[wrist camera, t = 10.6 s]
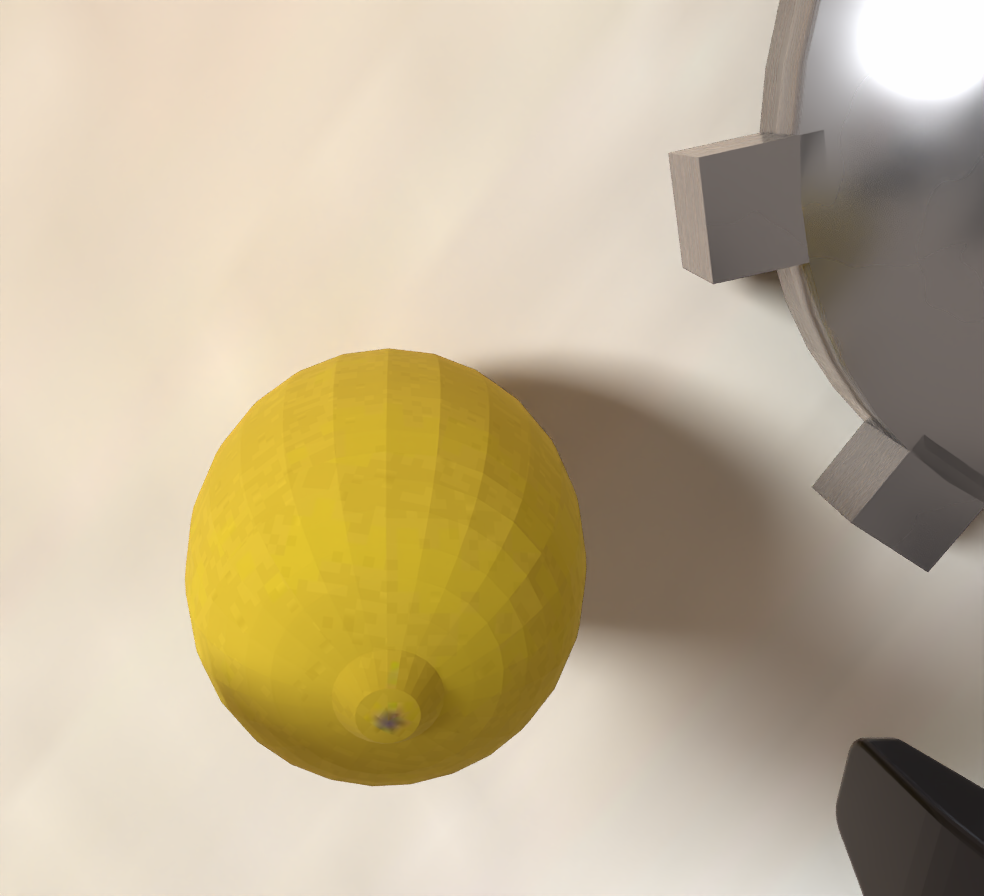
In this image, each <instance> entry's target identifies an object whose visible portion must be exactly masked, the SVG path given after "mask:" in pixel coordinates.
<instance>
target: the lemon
mask: <svg viewBox="0 0 984 896" xmlns="http://www.w3.org/2000/svg"><path fill="white" fill-rule="evenodd" d="M585 579H586V552H585V545H584V538H583V531H582V524H581V517H580V511H579V504H578V499H577V496H576V493H575V490H574V488H573V485H572V483H571V481H570V479H569V476H568V474H567V472H566V470H565V467H564V465H563V463H562V461H561V458H560V456H559V454H558V452H557V449H556V447H555V446H554V444H553V442H552V440H551V439H550V438H549V436H548V435H547V434H546V433H545V432H544V430H543V429H542V428H541V427H540V426H539V424H538V423H537V422H536V421H535V420H534V418H533V417H532V416H531V415H530V414H529V412H528V411H527V410H526V409H525V408H524V406H523V405H522V404H521V403H520V402H519V401H518V399H516V398H515V397H513V396H512V395H511V394H509V393H508V392H506V391H505V390H504V389H502V388H501V387H499V386H498V385H496V384H495V383H494V382H492V381H491V380H489V379H488V378H487V377H485V376H484V375H482V374H481V373H479V372H478V371H477V370H474V369H472V368H469V367H467V366H464V365H461V364H459V363H456V362H454V361H451V360H449V359H446V358H443V357H441V356H438V355H436V354H431V353H422V352H414V351H405V350H397V349H381V350H373V351H365V352H357V353H349V354H343V355H340V356H337V357H335V358H332V359H330V360H327V361H324V362H322V363H319V364H316V365H314V366H311V367H309V368H306V369H303V370H301V371H299V372H297V373H296V374H294V375H293V376H291V377H290V378H289V379H287V380H286V381H285V382H283V383H282V384H280V385H279V386H278V387H276V388H275V389H273V390H272V391H271V392H269V393H268V394H267V395H265V396H264V397H262V398H261V399H260V400H258V401H257V402H256V403H255V404H254V405H253V406H252V407H251V408H250V410H249V411H248V412H247V413H246V415H245V416H244V417H243V418H242V420H241V421H240V422H239V423H238V425H237V426H236V427H235V428H234V430H233V431H232V432H231V433H230V435H229V436H228V437H227V438H226V440H225V441H224V442H223V443H222V445H221V446H220V448H219V450H218V451H217V453H216V455H215V457H214V460H213V462H212V464H211V467H210V469H209V471H208V474H207V476H206V478H205V481H204V483H203V485H202V488H201V490H200V492H199V495H198V497H197V500H196V502H195V505H194V508H193V513H192V518H191V525H190V534H189V543H188V552H187V561H186V573H185V586H186V596H187V602H188V607H189V612H190V618H191V623H192V629H193V634H194V639H195V644H196V649H197V653H198V655H199V657H200V659H201V662H202V664H203V666H204V668H205V670H206V672H207V674H208V676H209V678H210V680H211V682H212V684H213V686H214V688H215V690H216V692H217V694H218V696H219V698H220V700H221V702H222V703H223V704H224V705H225V707H226V708H227V709H228V710H229V711H230V712H231V713H232V714H233V716H234V717H235V718H236V719H237V720H238V721H239V722H240V723H241V724H242V726H243V727H244V728H245V729H246V730H247V731H248V732H249V733H250V734H251V735H252V737H253V738H254V739H255V740H256V741H257V742H259V743H260V744H262V745H263V746H265V747H266V748H268V749H269V750H271V751H272V752H274V753H275V754H277V755H278V756H280V757H281V758H283V759H284V760H286V761H287V762H289V763H290V764H292V765H294V766H297V767H300V768H302V769H305V770H307V771H310V772H313V773H315V774H318V775H320V776H323V777H326V778H328V779H331V780H337V781H343V782H349V783H356V784H362V785H368V786H385V785H404V784H413V783H417V782H421V781H425V780H429V779H433V778H437V777H441V776H445V775H449V774H452V773H455V772H457V771H459V770H461V769H463V768H465V767H467V766H469V765H471V764H473V763H475V762H477V761H479V760H481V759H483V758H485V757H487V756H489V755H491V754H492V753H493V752H495V751H496V750H497V749H498V748H500V747H501V746H502V745H503V744H505V743H506V742H507V741H508V740H509V739H511V738H512V737H513V736H514V735H516V734H517V733H518V732H519V731H521V730H522V729H523V728H524V726H525V725H526V724H527V723H528V722H529V721H530V720H531V718H532V717H533V716H534V715H535V713H536V712H537V711H538V709H539V708H540V707H541V706H542V704H543V703H544V702H545V700H546V699H547V698H548V697H549V695H550V694H551V693H552V691H553V690H554V689H555V686H556V684H557V682H558V680H559V678H560V675H561V673H562V671H563V668H564V666H565V664H566V661H567V659H568V657H569V655H570V652H571V650H572V648H573V645H574V643H575V641H576V638H577V634H578V630H579V625H580V618H581V610H582V603H583V595H584V587H585Z"/></svg>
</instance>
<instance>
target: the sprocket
mask: <svg viewBox="0 0 984 896" xmlns="http://www.w3.org/2000/svg"><path fill="white" fill-rule="evenodd" d="M668 154H669V162H670V170H671V178H672V186H673V194H674V202H675V210H676V217H677V225H678V233H679V241H680V249H681V257H682V265H683V268H684V269H686V270H688V271H690V272H692V273H693V274H695V275H697V276H699V277H701V278H703V279H704V280H706V281H708V282H710V283H712V284H716V283H721V282H725V281H730V280H734V279H738V278H743V277H747V276H752V275H756V274H761V273H765V272H770V271H774V270H777V273H778V277H779V280H780V283H781V287H782V290H783V294H784V297H785V300H786V303H787V305H788V307H789V309H790V311H791V313H792V316H793V318H794V320H795V322H796V324H797V326H798V329H799V331H800V333H801V335H802V337H803V340H804V342H805V344H806V346H807V348H808V349H809V351H810V352H811V354H812V355H813V357H814V358H815V360H816V361H817V363H818V365H819V366H820V368H821V369H822V371H823V372H824V374H825V375H826V377H827V378H828V380H829V381H830V383H831V384H832V386H833V387H834V388H835V390H836V391H837V392H838V393H839V394H840V395H841V396H842V397H843V398H844V400H845V401H846V402H847V403H848V404H849V405H850V406H851V407H852V408H853V409H854V411H855V412H856V413H857V414H858V415H859V416H860V417H861V418H862V419H863V421H864V423H863V424H862V425H861V426H860V428H859V429H858V430H857V431H856V433H855V434H854V435H853V436H852V438H851V439H850V440H849V441H848V443H847V444H846V445H845V446H844V448H843V449H842V450H841V451H840V453H839V454H838V455H837V456H836V458H835V459H834V460H833V461H832V463H831V464H830V465H829V466H828V468H827V469H826V470H825V471H824V473H823V474H822V475H821V476H820V478H819V479H818V480H817V481H816V483H815V484H814V485H813V486H812V488H813V489H814V490H815V491H816V492H818V493H819V494H820V495H821V496H822V497H823V498H824V499H825V500H826V501H828V502H829V503H830V504H831V505H832V506H833V507H834V508H835V509H836V510H838V511H839V512H840V513H841V514H842V515H843V516H844V517H845V518H846V519H847V520H849V521H850V522H851V523H852V524H854V525H855V526H857V527H858V528H860V529H862V530H863V531H865V532H866V533H868V534H869V535H871V536H872V537H874V538H876V539H877V540H879V541H880V542H882V543H883V544H885V545H886V546H888V547H890V548H891V549H893V550H894V551H896V552H897V553H899V554H900V555H902V556H904V557H905V558H907V559H908V560H910V561H911V562H913V563H914V564H916V565H918V566H919V567H921V568H922V569H924V570H925V571H927V572H929V570H930V569H931V568H932V567H933V566H934V565H935V564H936V562H937V561H938V560H939V559H940V558H941V557H942V555H943V554H944V553H945V552H946V551H947V550H948V549H949V547H950V546H951V545H952V544H953V543H954V542H955V540H956V539H957V538H958V537H959V536H960V535H961V534H962V532H963V531H964V530H965V529H966V528H967V527H968V525H969V524H970V523H971V522H972V521H973V520H974V518H975V517H976V516H977V515H978V514H979V513H980V512H981V510H982V509H983V508H984V0H780V2H779V6H778V11H777V16H776V21H775V26H774V30H773V35H772V40H771V45H770V49H769V54H768V59H767V64H766V70H765V80H764V91H763V102H762V113H761V124H760V133H757V134H752V135H748V136H743V137H739V138H734V139H730V140H725V141H721V142H716V143H712V144H707V145H703V146H698V147H693V148H689V149H684V150H680V151H675V152H671V153H668Z"/></svg>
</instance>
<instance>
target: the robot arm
mask: <svg viewBox="0 0 984 896" xmlns="http://www.w3.org/2000/svg"><path fill="white" fill-rule="evenodd" d="M836 818H837V824H838V828H839V831H840V834H841V837H842V839H843V842H844V845H845V847H846V850H847V853H848V856H849V858H850V861H851V864H852V866H853V869H854V872H855V874H856V877H857V880H858V883H859V885H860V888H861V891H862V893H863V896H984V789H983V788H981V787H980V786H978V785H976V784H975V783H973V782H971V781H970V780H968V779H966V778H964V777H963V776H961V775H959V774H958V773H956V772H954V771H953V770H951V769H949V768H947V767H946V766H944V765H942V764H941V763H939V762H937V761H936V760H934V759H932V758H930V757H929V756H927V755H925V754H924V753H922V752H920V751H919V750H917V749H915V748H913V747H912V746H910V745H908V744H907V743H905V742H903V741H901V740H899V739H896V738H860V739H858V740H856V741H855V742H854V743H853V744H852V745H851V747H850V750H849V753H848V757H847V761H846V766H845V770H844V774H843V778H842V782H841V786H840V790H839V794H838V798H837V804H836Z"/></svg>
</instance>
